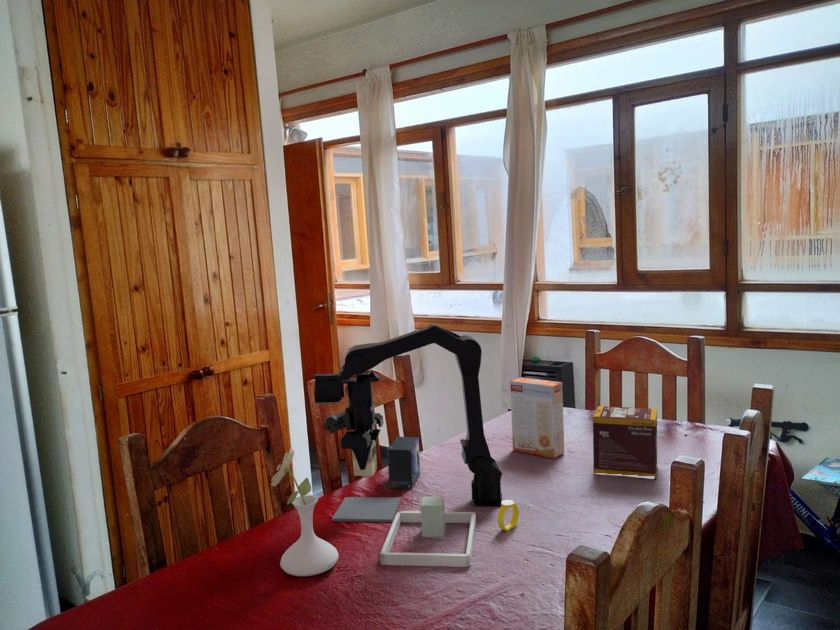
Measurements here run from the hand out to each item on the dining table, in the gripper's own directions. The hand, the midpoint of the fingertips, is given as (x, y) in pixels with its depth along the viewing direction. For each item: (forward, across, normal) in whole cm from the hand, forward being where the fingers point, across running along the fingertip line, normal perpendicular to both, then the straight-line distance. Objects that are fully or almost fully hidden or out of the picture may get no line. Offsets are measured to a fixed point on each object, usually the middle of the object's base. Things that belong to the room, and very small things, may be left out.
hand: (365, 465), depth 151 cm
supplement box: (+11, -26, +63) cm, 69 cm away
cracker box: (+11, -40, +41) cm, 58 cm away
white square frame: (+11, +15, +17) cm, 25 cm away
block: (+11, +10, +17) cm, 23 cm away
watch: (+11, +8, +33) cm, 36 cm away
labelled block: (+2, 0, 0) cm, 2 cm away
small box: (+11, -18, +6) cm, 22 cm away
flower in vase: (+11, +27, -6) cm, 30 cm away
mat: (+11, 0, 0) cm, 11 cm away
